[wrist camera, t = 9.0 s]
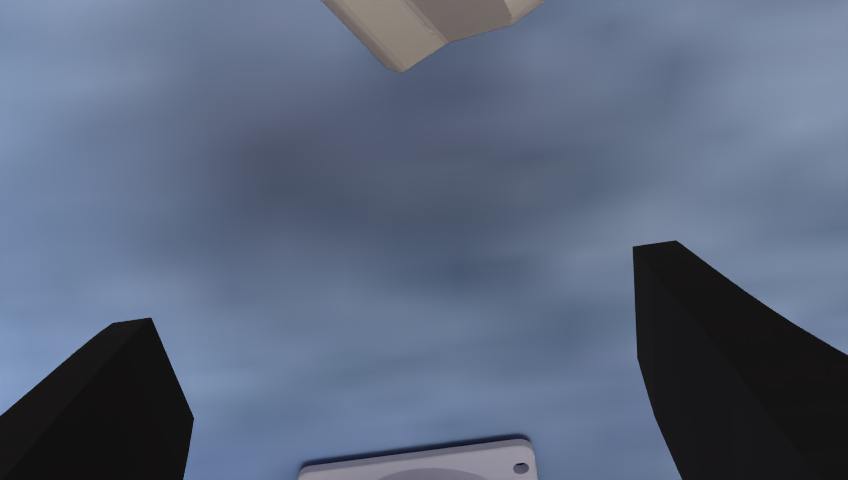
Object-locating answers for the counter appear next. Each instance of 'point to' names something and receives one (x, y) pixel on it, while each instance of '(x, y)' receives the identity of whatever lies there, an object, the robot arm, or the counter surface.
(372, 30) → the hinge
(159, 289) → the counter surface
